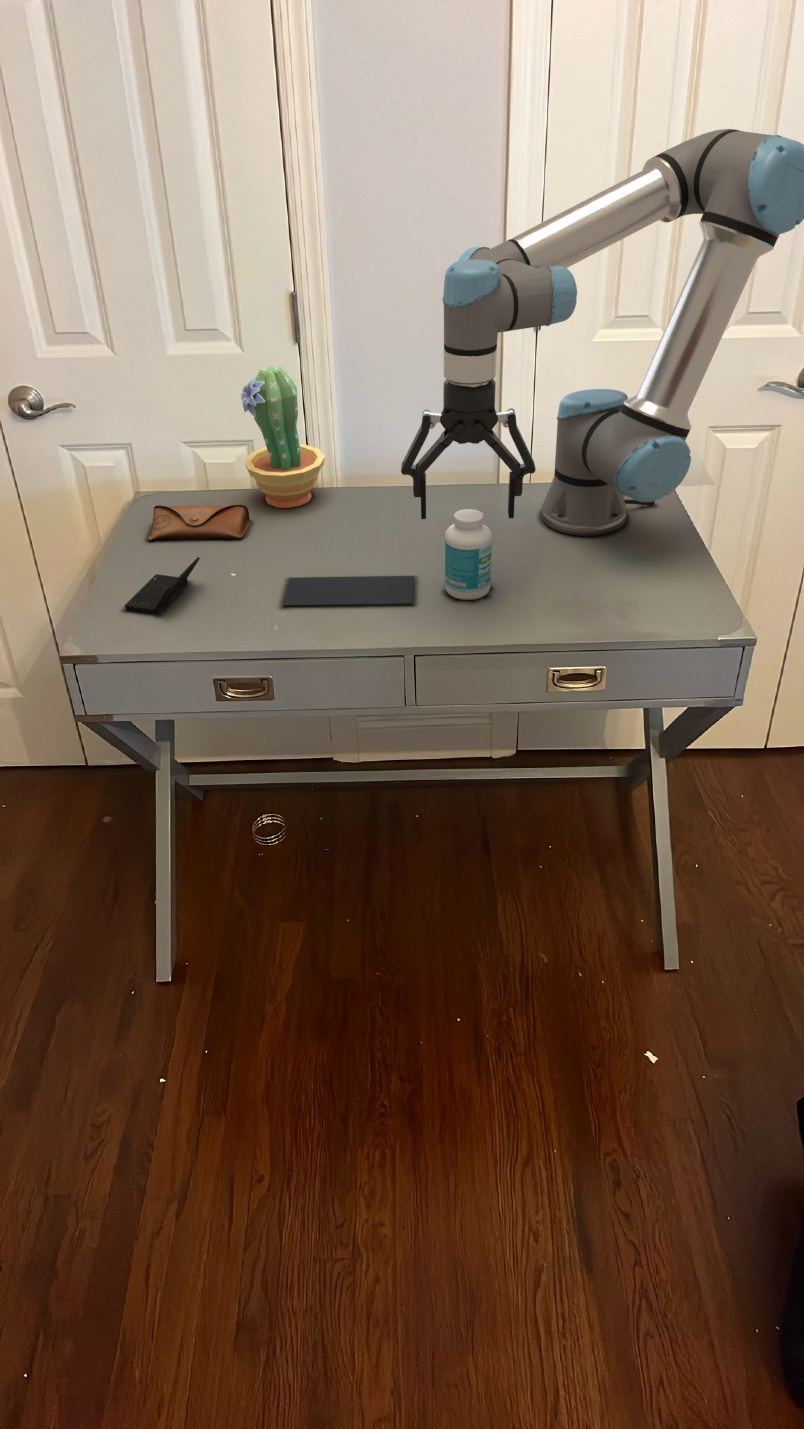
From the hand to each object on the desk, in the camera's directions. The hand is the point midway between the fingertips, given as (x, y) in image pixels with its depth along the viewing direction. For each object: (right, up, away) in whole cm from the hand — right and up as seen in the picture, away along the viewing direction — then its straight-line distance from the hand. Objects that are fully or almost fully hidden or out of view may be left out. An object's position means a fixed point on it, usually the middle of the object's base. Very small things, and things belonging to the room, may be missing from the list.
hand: (467, 515), depth 155 cm
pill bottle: (+1, -11, +8) cm, 14 cm away
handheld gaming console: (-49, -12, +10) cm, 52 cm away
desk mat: (-19, -11, +9) cm, 24 cm away
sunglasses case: (-48, +3, +29) cm, 56 cm away
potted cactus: (-32, +11, +39) cm, 52 cm away
